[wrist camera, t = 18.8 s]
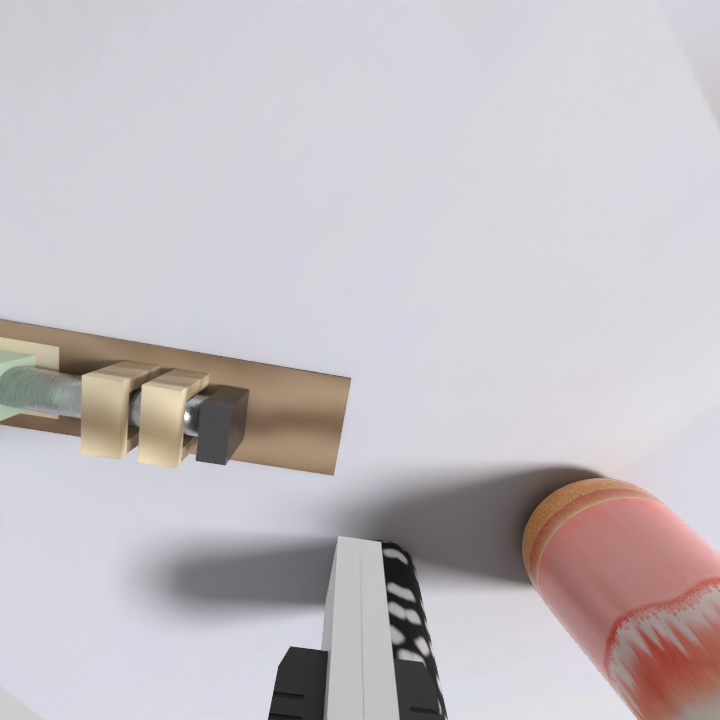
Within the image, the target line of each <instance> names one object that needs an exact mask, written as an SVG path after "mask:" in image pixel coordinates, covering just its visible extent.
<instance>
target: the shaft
mask: <svg viewBox="0 0 720 720" xmlns="http://www.w3.org/2000/svg"><path fill="white" fill-rule="evenodd" d="M249 391H250V390H248V389H242V388H236V387H230V386H222V387H221V388H220V389H219V390H217V391H216V392H215V393H213V394H212V395H211V396H204V395H198V394H196V395H195V396H193V397H192V398H190V399H189V400H188V401H186V407H185V420H184V432H183V434H184V435H191V436H197V437H198V442H197V453H196V461H201V462H207V463H214V464H220V465H226V464H227V462H228V461H229V459H230V458H231V457H232V455H233V454H234V452H235V451H236V449H237V448H238V447H239V445H240V444H241V442H242V441H243V440H244V433H245V424H246V416H247V407H248V399H249ZM141 392H142V387H140V388H138V389H135V390H133V391H131V392H129V410H128V426H133V427H139V428H140V410H141ZM81 402H82V376H81V375H75V374H69V373H62V372H56V371H50V370H44V369H38V368H32V367H25V366H15V367H12V368H10V369H8V370H7V371H5V372H4V373H3V374H2V375H1V377H0V404H1V405H3V406H5V407H11V408H17V409H24V410H30V411H37V412H43V413H49V414H56V415H62V416H69V417H75V418H81Z"/></svg>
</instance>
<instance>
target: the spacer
mask: <svg viewBox="0 0 720 720" xmlns="http://www.w3.org/2000/svg"><path fill="white" fill-rule="evenodd" d="M15 366H25V367H32V368H36V355H30V354H24V353H18V352H12V351H6V350H0V377H1V375H2V374H3V373H4V372H5V371H7V370H8V369H10V368H12V367H15ZM25 411H27V410H24V409H17V408H11V407H5V406H3V405H1V404H0V421H2V420H4V419H7V418H9V417H12V416H15V415H17V414H20V413H22V412H25Z"/></svg>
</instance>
